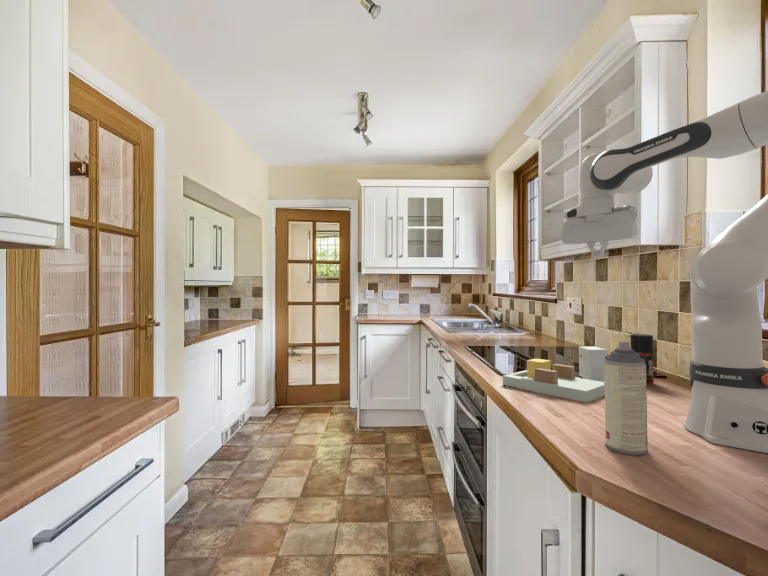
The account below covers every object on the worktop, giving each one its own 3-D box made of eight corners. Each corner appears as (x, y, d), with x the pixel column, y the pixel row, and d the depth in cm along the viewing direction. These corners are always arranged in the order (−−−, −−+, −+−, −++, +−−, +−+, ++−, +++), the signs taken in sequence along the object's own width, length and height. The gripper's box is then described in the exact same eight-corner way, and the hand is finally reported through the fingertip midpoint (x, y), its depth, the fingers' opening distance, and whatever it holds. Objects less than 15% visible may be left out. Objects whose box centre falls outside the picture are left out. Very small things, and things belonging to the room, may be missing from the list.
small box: (608, 382, 128) (607, 349, 128) (590, 382, 128) (589, 349, 128) (595, 377, 136) (594, 346, 136) (578, 377, 136) (578, 346, 136)
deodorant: (635, 379, 131) (634, 333, 131) (656, 382, 127) (655, 335, 127) (628, 382, 127) (627, 335, 128) (649, 385, 123) (648, 336, 123)
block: (551, 376, 124) (550, 360, 124) (542, 379, 121) (541, 362, 121) (536, 374, 128) (535, 358, 128) (527, 376, 125) (526, 360, 125)
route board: (609, 393, 115) (609, 370, 115) (586, 402, 106) (586, 377, 106) (527, 378, 135) (527, 359, 135) (502, 385, 127) (502, 364, 127)
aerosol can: (634, 441, 79) (632, 339, 79) (656, 456, 72) (653, 344, 72) (598, 441, 79) (596, 339, 80) (616, 455, 73) (614, 344, 73)
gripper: (641, 205, 112) (641, 255, 112) (568, 216, 128) (569, 260, 128) (631, 202, 108) (632, 254, 108) (558, 214, 124) (559, 259, 124)
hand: (597, 257), depth 118 cm, fingers closed
